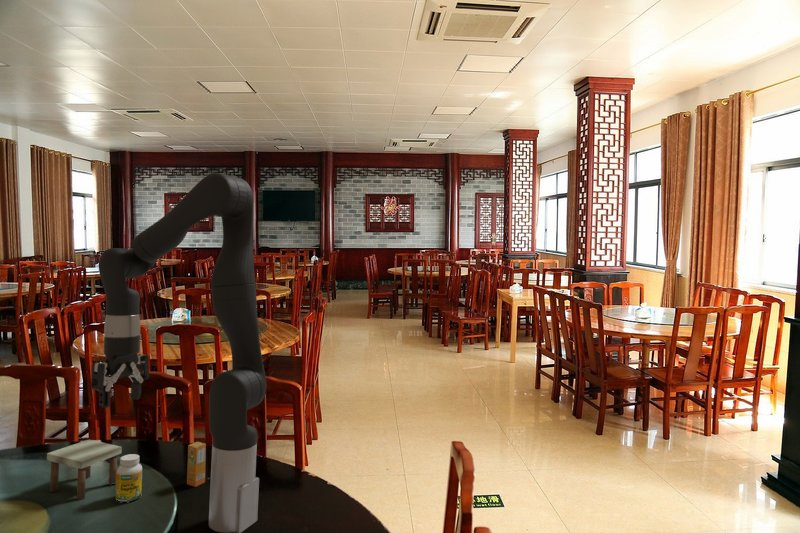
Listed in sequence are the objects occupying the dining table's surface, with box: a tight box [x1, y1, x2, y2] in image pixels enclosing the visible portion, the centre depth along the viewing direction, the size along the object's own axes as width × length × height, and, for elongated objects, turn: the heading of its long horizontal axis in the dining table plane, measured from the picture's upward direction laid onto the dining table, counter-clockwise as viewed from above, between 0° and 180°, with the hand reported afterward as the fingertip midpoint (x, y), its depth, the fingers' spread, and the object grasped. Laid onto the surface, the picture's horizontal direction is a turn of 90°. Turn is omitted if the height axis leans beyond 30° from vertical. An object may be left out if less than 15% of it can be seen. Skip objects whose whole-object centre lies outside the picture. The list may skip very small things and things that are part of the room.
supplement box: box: [186, 441, 207, 488], centre depth 135 cm, size 3×3×10 cm
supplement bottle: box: [115, 453, 143, 502], centre depth 125 cm, size 5×5×10 cm
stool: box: [46, 439, 123, 501], centre depth 130 cm, size 11×11×9 cm
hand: (120, 402), depth 127 cm, fingers open, 8 cm apart
